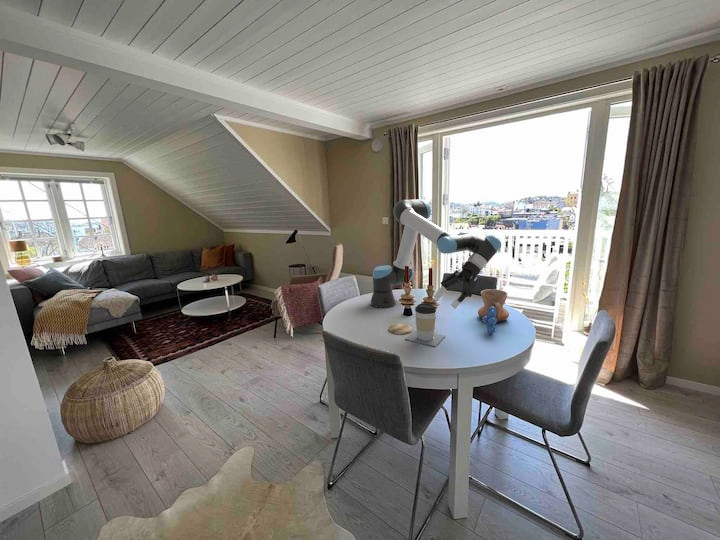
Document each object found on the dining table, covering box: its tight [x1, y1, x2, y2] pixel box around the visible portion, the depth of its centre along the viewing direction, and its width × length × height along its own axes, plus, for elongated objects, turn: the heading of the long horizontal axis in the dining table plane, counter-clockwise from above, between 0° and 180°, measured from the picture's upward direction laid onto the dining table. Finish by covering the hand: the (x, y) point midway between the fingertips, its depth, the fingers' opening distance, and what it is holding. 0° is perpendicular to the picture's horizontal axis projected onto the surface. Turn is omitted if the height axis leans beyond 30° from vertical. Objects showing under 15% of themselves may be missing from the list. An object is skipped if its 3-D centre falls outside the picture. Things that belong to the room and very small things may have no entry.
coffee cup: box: [414, 303, 437, 340], centre depth 129 cm, size 9×9×15 cm
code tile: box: [404, 329, 446, 348], centre depth 130 cm, size 14×12×1 cm
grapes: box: [481, 306, 499, 335], centre depth 133 cm, size 12×7×12 cm, turn 157°
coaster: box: [388, 323, 413, 335], centre depth 141 cm, size 11×11×1 cm
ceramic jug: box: [477, 288, 510, 322], centre depth 148 cm, size 18×14×14 cm
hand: (443, 302), depth 129 cm, fingers open, 13 cm apart
